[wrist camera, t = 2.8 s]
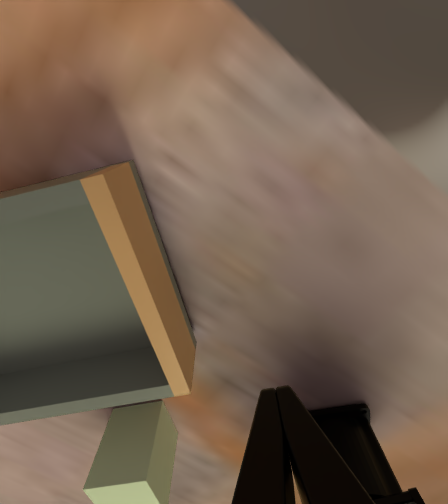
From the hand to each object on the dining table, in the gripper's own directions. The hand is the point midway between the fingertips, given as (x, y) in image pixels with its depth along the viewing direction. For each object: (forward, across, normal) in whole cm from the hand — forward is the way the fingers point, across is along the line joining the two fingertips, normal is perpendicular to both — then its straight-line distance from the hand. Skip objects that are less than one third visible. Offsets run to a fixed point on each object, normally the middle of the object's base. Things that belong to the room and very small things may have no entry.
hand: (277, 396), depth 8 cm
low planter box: (+11, +14, 0) cm, 18 cm away
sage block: (+11, +12, +15) cm, 22 cm away
